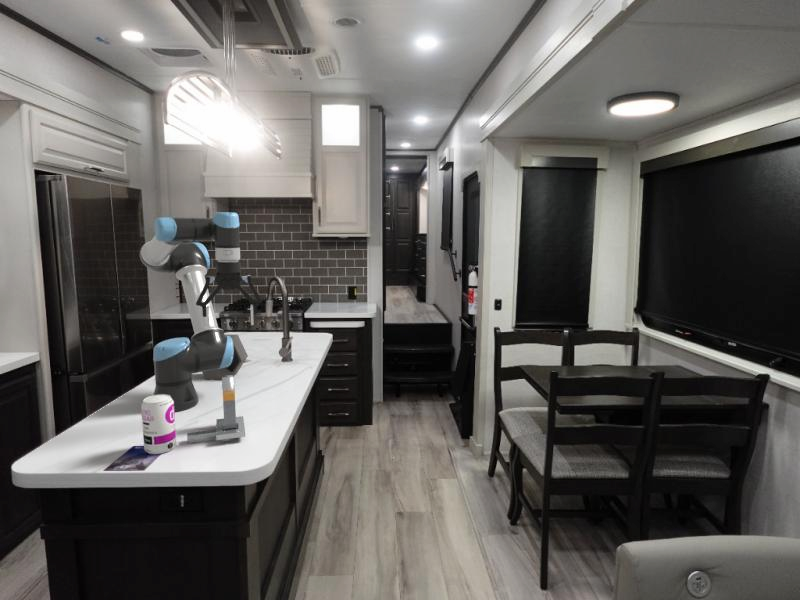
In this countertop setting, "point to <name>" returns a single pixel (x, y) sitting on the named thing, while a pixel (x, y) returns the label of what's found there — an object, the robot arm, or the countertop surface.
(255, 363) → the countertop surface
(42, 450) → the countertop surface
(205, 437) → the grey piece
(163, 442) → the supplement can
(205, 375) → the planter
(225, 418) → the orange-tipped square rod
